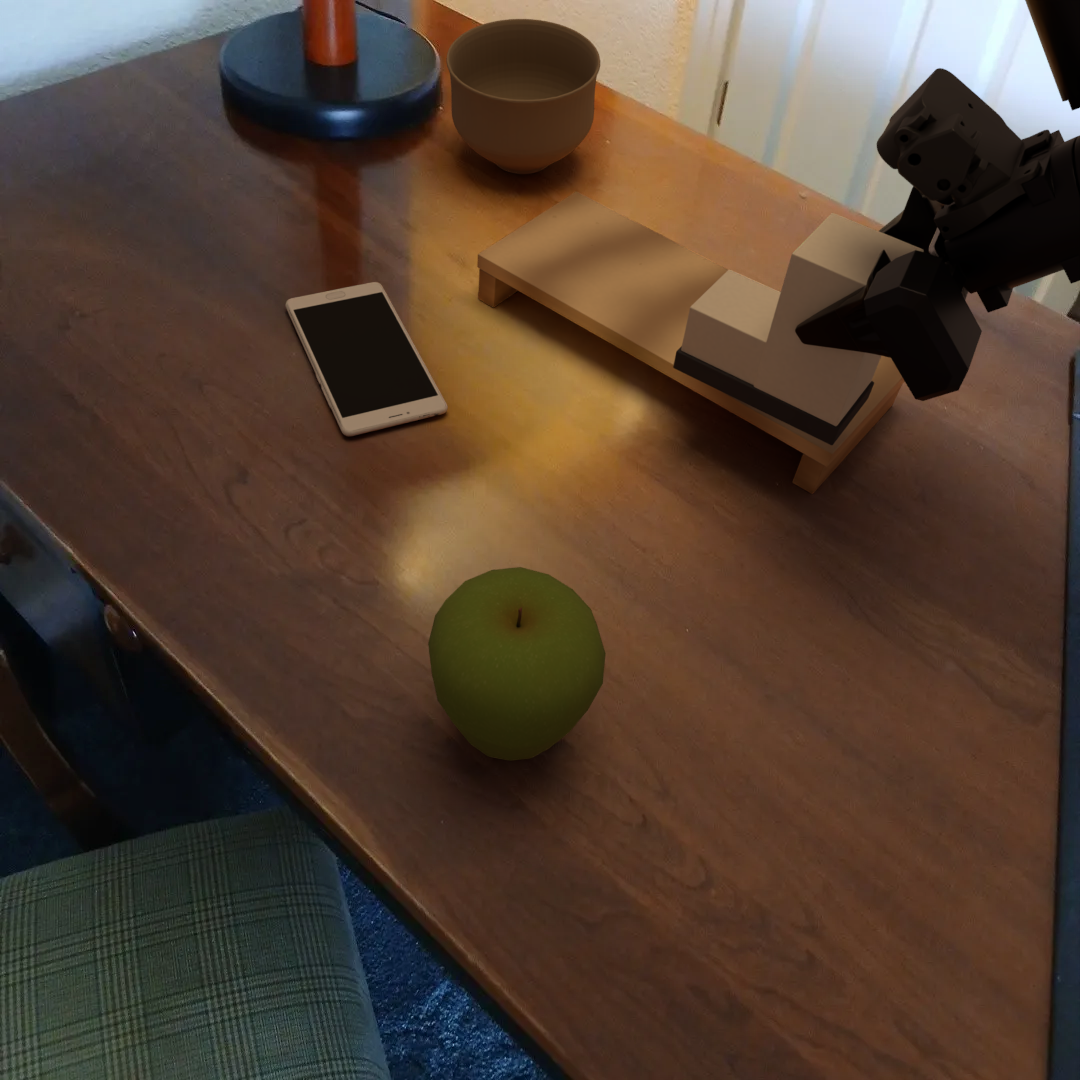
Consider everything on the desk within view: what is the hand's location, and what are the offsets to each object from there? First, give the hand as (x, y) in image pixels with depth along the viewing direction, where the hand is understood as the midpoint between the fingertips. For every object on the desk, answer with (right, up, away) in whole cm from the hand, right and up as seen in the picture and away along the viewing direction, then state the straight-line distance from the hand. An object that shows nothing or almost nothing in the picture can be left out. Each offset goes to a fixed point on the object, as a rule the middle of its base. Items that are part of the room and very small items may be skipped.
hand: (813, 307), depth 61 cm
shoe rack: (-5, +1, +17) cm, 18 cm away
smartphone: (-29, -1, +14) cm, 32 cm away
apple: (-18, -24, -4) cm, 30 cm away
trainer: (-1, -4, +6) cm, 7 cm away
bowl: (-18, +20, +32) cm, 42 cm away
